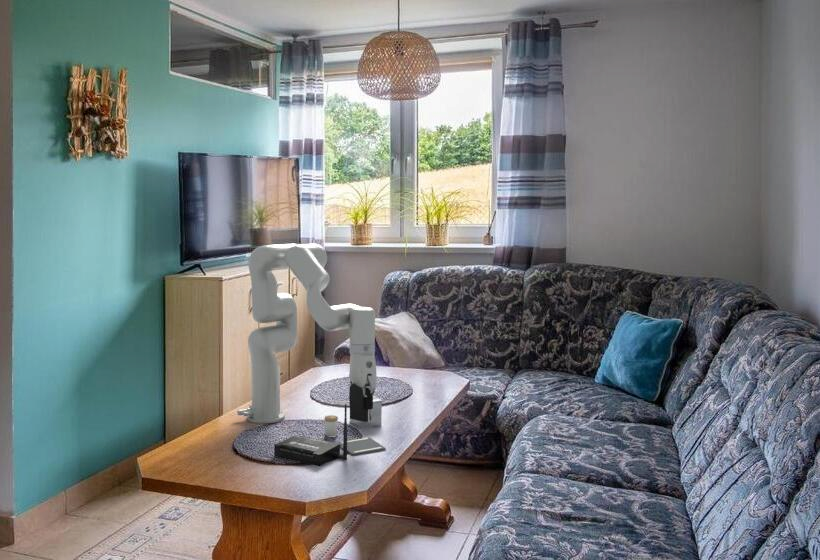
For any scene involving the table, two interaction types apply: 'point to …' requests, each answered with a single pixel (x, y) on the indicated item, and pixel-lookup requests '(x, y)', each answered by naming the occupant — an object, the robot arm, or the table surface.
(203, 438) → the table surface
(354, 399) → the battery charger
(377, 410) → the wall box
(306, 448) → the black router
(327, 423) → the white cylinder
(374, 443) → the mat
